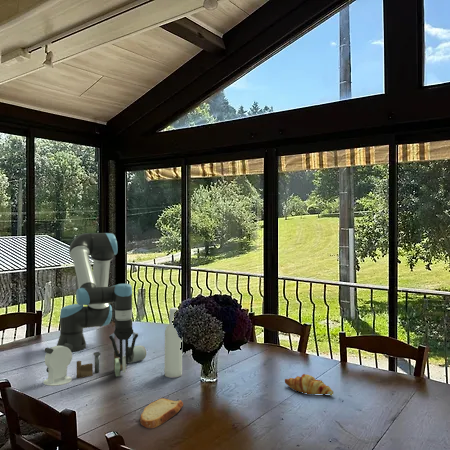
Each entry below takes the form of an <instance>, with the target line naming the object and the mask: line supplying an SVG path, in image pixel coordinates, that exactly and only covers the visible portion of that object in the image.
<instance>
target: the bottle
mask: <svg viewBox="0 0 450 450" xmlns="http://www.w3.org/2000/svg"><path fill="white" fill-rule="evenodd" d="M177 309H178V307H170V308H169V324H168V325H167V326H166V328H165V330H164V369H163V371H164V376H165V377H166V378H172V379H174V378H175V379H176V378H179V377H182V375H183V350H182V351H181V350H180V348H181V342H182V343H183V339H182V340H181V339H180V338H179V337H178V334H177V331H176V329H175V328H174V326H173V324H172V320H173V317H174V313H175V312H176V310H177Z"/></svg>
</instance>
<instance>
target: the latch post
mask: <svg viewBox="0 0 450 450" xmlns="http://www.w3.org/2000/svg"><path fill="white" fill-rule="evenodd" d="M93 356H94V374H99V373H100V356H101V352H100V351H96V352H93Z"/></svg>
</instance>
